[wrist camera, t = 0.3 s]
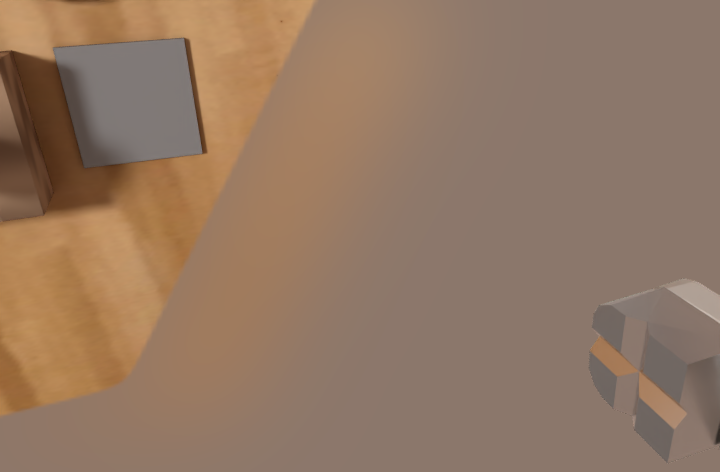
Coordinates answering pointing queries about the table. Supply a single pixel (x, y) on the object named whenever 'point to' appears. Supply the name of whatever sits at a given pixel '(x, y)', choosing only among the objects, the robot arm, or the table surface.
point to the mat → (130, 100)
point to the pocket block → (19, 151)
